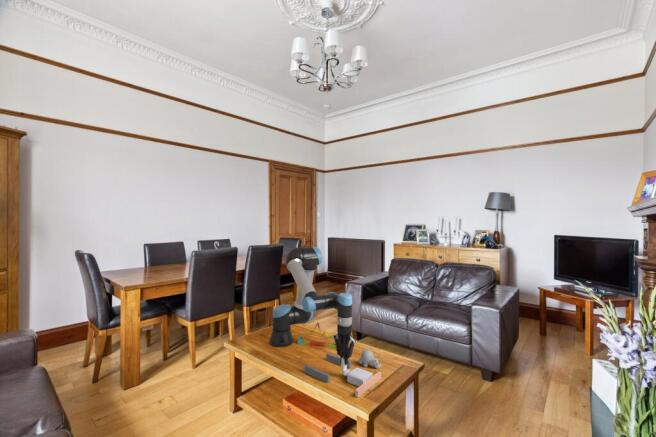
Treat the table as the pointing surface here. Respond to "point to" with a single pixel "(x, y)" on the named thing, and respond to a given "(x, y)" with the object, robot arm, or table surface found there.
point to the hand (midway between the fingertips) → (344, 369)
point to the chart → (319, 344)
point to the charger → (357, 376)
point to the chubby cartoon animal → (369, 359)
